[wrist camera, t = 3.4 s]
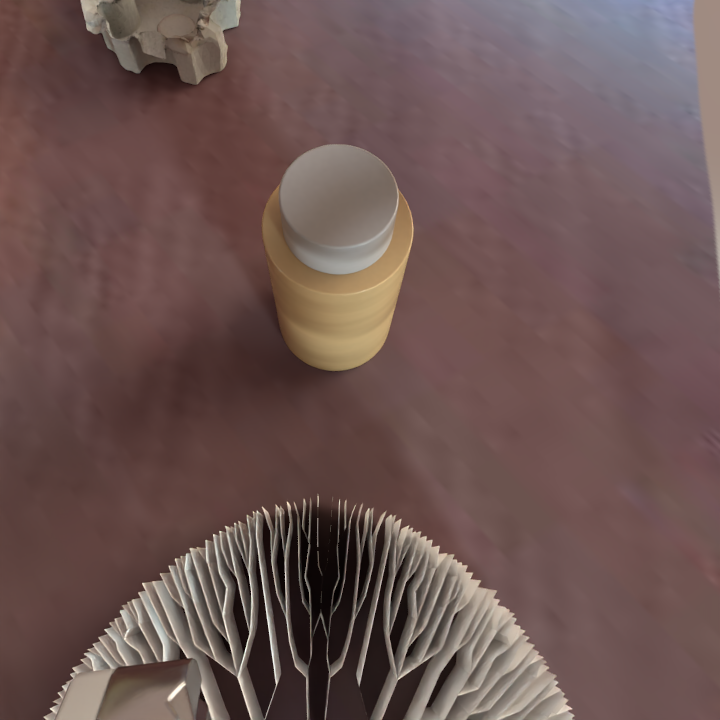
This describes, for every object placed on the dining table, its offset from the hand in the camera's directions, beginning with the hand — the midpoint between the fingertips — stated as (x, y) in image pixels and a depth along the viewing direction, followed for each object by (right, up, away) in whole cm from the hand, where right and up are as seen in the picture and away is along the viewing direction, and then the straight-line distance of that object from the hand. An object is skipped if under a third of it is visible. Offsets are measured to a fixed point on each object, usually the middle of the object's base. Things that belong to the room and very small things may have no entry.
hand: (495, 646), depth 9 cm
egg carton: (-12, +24, +28) cm, 39 cm away
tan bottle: (-3, +6, +22) cm, 23 cm away
